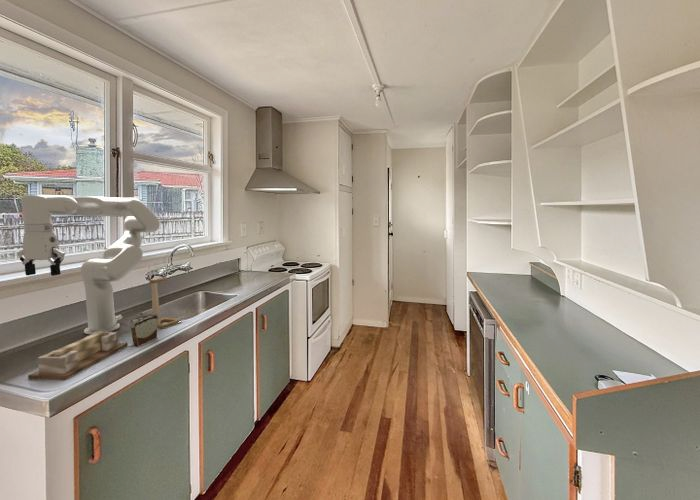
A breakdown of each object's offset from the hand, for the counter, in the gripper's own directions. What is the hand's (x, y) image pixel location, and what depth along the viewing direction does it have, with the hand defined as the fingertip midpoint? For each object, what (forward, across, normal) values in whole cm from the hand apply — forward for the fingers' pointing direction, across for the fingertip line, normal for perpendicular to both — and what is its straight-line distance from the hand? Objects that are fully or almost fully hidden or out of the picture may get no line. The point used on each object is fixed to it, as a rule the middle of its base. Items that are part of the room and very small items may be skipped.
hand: (43, 274), depth 121 cm
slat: (+27, -22, +10) cm, 36 cm away
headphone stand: (+28, -27, -28) cm, 48 cm away
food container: (+28, -30, -8) cm, 42 cm away
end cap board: (+28, -22, +10) cm, 37 cm away
